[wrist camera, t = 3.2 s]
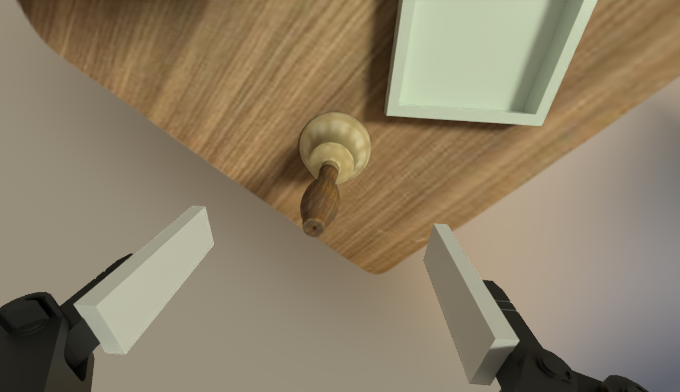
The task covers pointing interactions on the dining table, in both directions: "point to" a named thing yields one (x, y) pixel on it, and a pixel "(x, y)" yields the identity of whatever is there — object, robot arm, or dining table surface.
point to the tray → (482, 58)
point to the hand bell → (330, 165)
